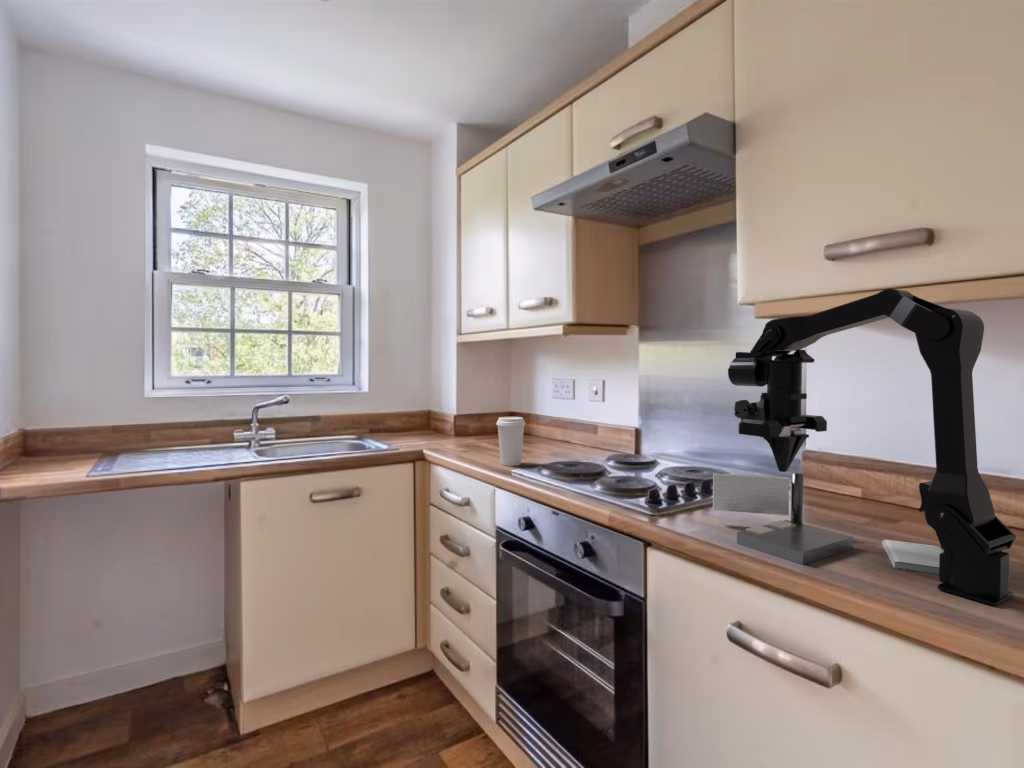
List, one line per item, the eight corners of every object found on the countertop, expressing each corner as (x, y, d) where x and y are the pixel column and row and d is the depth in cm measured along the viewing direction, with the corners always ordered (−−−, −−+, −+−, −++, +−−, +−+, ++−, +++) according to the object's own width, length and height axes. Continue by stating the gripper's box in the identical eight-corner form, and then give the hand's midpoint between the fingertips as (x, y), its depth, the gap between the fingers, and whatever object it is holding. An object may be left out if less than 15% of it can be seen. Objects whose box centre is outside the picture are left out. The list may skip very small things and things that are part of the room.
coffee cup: (490, 463, 174) (490, 417, 174) (514, 460, 180) (514, 415, 179) (506, 467, 166) (506, 419, 166) (531, 464, 172) (531, 418, 171)
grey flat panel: (786, 512, 104) (787, 477, 104) (788, 515, 102) (789, 479, 102) (712, 507, 108) (713, 473, 108) (713, 510, 106) (713, 475, 106)
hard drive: (960, 570, 80) (940, 545, 91) (894, 561, 84) (882, 538, 95) (960, 581, 80) (939, 555, 91) (894, 571, 84) (881, 547, 95)
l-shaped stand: (860, 545, 94) (861, 483, 94) (802, 564, 85) (803, 496, 85) (794, 528, 104) (795, 472, 104) (736, 543, 95) (737, 482, 95)
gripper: (774, 385, 110) (773, 460, 111) (714, 387, 101) (713, 469, 101) (829, 387, 101) (827, 469, 101) (768, 389, 91) (767, 480, 92)
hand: (782, 471), depth 99 cm, fingers closed
